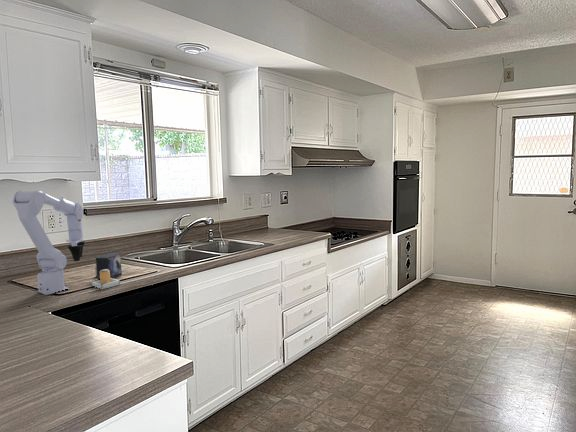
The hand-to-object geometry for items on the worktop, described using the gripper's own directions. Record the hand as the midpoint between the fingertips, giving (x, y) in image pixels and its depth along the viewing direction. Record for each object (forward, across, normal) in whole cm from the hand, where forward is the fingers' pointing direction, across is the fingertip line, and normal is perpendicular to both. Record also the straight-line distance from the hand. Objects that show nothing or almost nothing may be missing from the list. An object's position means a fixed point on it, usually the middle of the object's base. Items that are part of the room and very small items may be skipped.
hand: (78, 259), depth 198 cm
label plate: (+10, -5, +9) cm, 14 cm away
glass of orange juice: (+10, +15, +12) cm, 21 cm away
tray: (+10, +15, +12) cm, 22 cm away
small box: (+10, 0, +13) cm, 16 cm away
